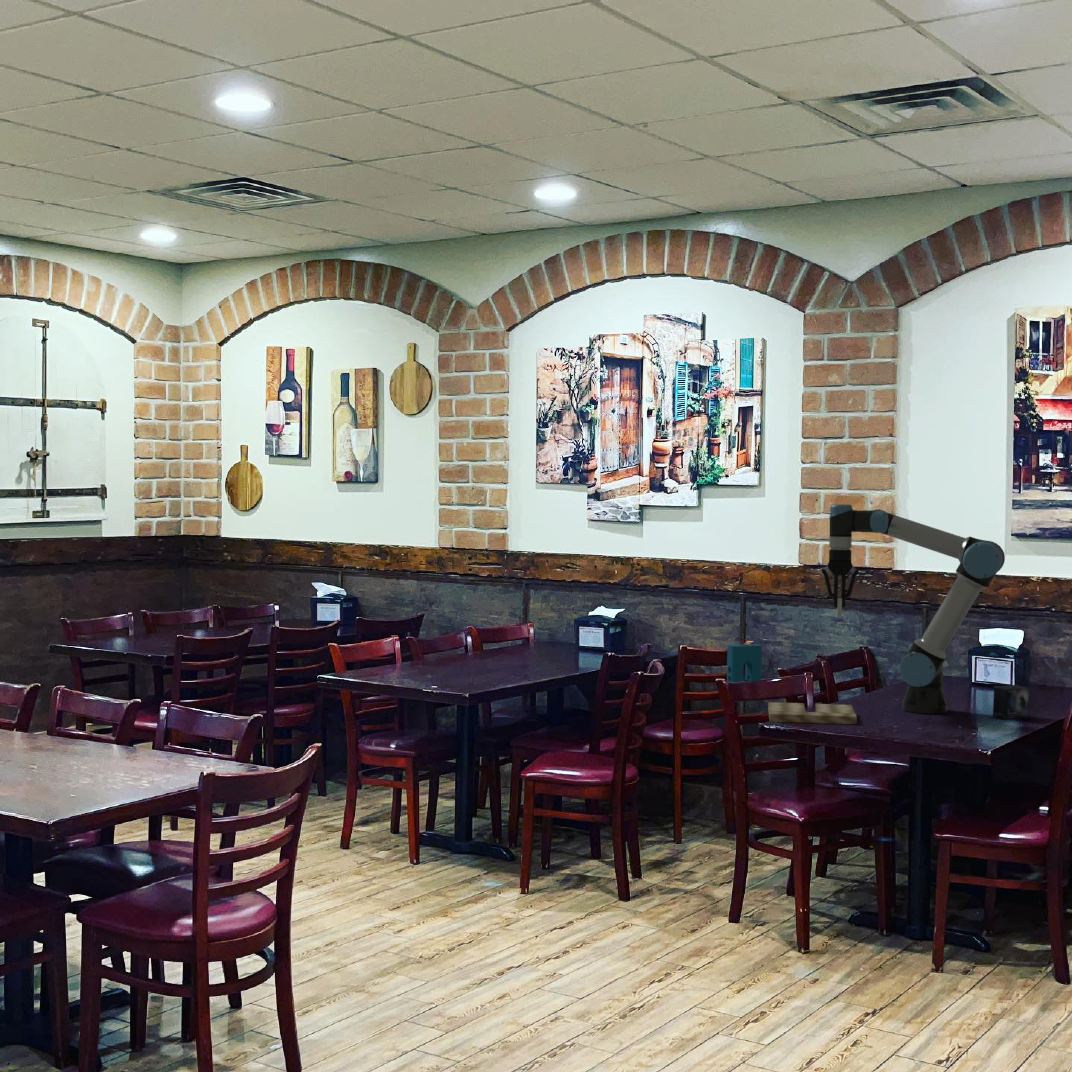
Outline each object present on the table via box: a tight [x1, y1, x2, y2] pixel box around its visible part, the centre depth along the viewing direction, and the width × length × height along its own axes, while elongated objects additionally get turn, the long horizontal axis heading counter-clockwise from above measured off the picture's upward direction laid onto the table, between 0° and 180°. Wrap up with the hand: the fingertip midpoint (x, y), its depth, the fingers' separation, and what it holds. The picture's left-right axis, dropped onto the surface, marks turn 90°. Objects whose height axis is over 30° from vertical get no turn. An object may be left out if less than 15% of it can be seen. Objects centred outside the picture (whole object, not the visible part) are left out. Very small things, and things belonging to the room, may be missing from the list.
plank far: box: [767, 701, 807, 714], centre depth 460 cm, size 12×13×2 cm
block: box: [726, 643, 763, 703], centre depth 490 cm, size 12×5×20 cm, turn 110°
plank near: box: [815, 703, 856, 714], centre depth 457 cm, size 12×13×2 cm
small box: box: [992, 684, 1030, 720], centre depth 459 cm, size 11×6×10 cm, turn 117°
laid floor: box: [768, 711, 858, 725], centre depth 449 cm, size 28×6×2 cm, turn 82°
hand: (839, 616), depth 470 cm, fingers closed
